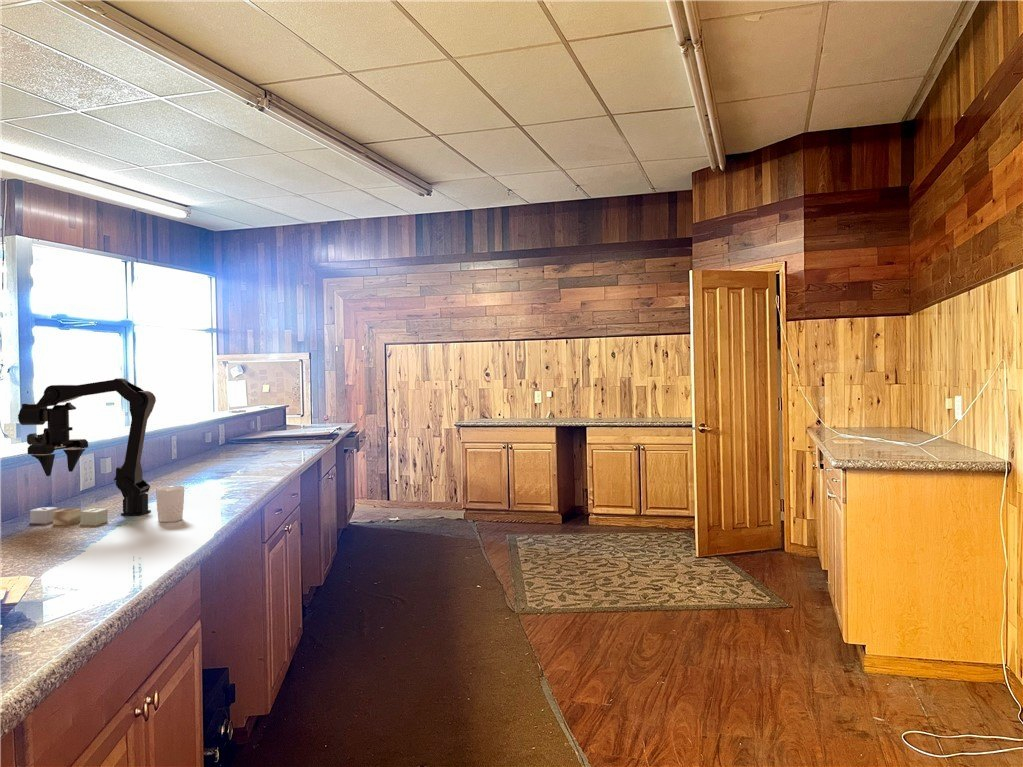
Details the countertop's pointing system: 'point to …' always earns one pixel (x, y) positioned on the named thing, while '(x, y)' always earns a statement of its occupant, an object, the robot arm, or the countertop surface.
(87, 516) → the sage block one
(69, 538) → the countertop surface
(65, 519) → the birch block
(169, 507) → the white cup
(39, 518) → the white die
